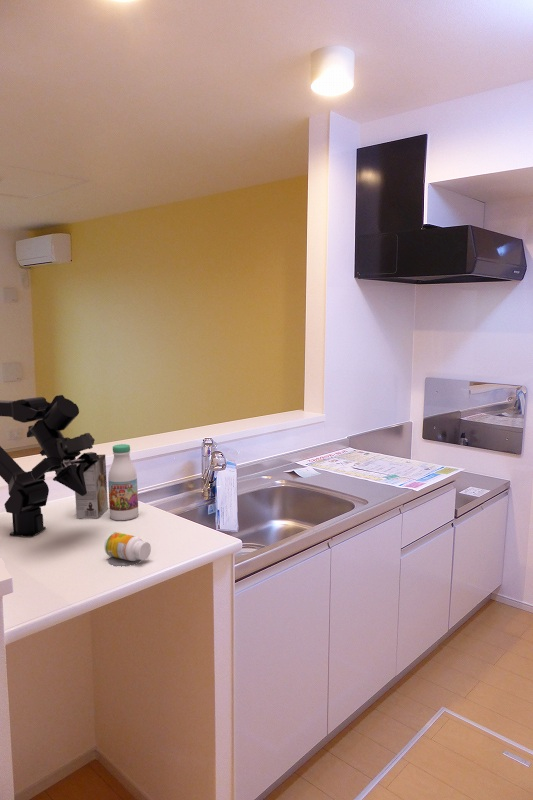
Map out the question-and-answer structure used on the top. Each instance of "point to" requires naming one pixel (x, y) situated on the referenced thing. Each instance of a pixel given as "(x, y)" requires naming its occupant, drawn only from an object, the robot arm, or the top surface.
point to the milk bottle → (122, 485)
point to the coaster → (121, 562)
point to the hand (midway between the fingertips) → (84, 494)
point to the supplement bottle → (127, 547)
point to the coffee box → (93, 492)
